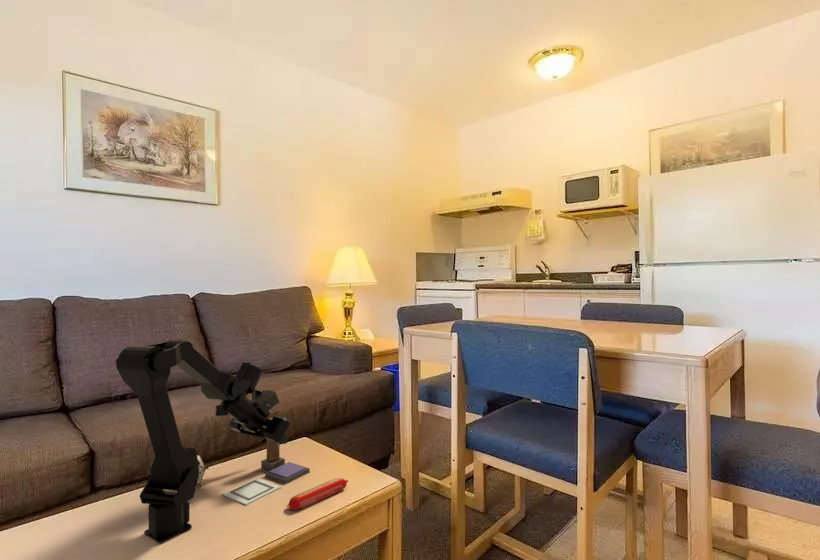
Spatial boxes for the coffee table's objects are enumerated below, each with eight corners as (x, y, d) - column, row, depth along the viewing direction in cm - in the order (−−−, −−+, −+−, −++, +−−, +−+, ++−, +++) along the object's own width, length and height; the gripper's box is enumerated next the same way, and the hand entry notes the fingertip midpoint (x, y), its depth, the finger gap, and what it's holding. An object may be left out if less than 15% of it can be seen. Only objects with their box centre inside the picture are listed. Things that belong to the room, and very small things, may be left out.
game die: (193, 505, 105) (194, 482, 99) (161, 492, 105) (160, 469, 100) (215, 473, 112) (217, 450, 107) (185, 461, 112) (185, 438, 107)
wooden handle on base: (271, 471, 114) (271, 423, 115) (261, 468, 117) (261, 420, 117) (284, 466, 118) (284, 418, 118) (274, 462, 121) (274, 416, 121)
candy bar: (340, 484, 107) (340, 472, 107) (350, 489, 105) (350, 477, 105) (284, 510, 95) (284, 496, 95) (293, 515, 93) (293, 502, 93)
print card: (246, 505, 97) (245, 503, 97) (222, 495, 102) (222, 493, 102) (281, 487, 105) (281, 485, 105) (257, 478, 110) (257, 477, 110)
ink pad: (286, 484, 107) (286, 478, 107) (265, 476, 112) (265, 471, 112) (309, 472, 114) (309, 467, 114) (289, 465, 118) (289, 460, 118)
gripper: (284, 387, 109) (315, 418, 119) (239, 378, 120) (271, 408, 129) (258, 426, 103) (294, 457, 112) (213, 414, 113) (249, 443, 122)
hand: (277, 439), depth 119 cm, fingers open, 7 cm apart
